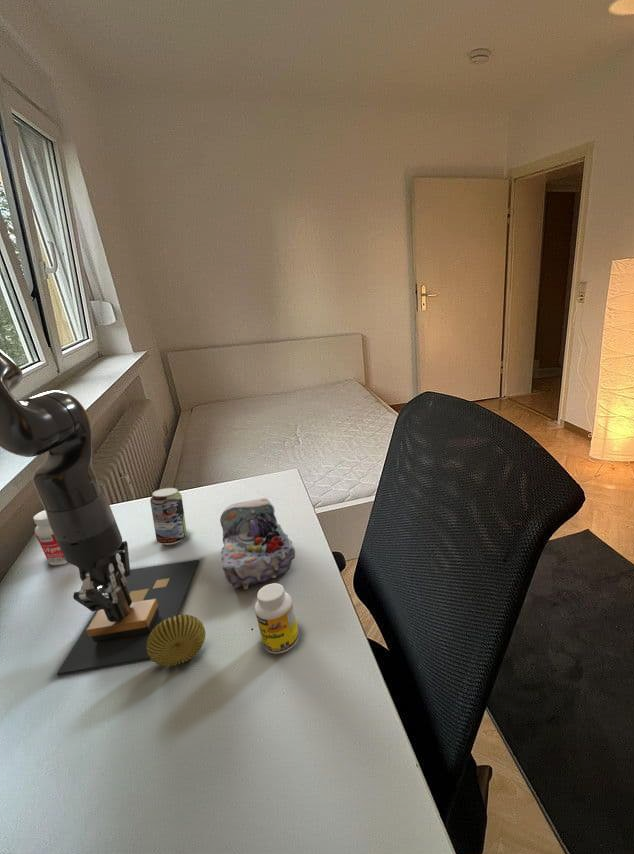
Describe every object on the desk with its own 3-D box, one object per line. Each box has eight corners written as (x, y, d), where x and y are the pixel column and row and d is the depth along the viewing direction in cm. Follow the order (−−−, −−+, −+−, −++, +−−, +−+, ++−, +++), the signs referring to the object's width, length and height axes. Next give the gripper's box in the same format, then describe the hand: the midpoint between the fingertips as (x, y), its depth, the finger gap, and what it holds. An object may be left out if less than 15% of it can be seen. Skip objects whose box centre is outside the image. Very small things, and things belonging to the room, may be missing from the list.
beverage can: (152, 547, 96) (135, 500, 92) (175, 528, 103) (161, 483, 98) (176, 550, 95) (160, 502, 90) (198, 530, 101) (185, 485, 97)
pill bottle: (46, 570, 91) (24, 525, 87) (52, 554, 96) (32, 510, 92) (81, 560, 94) (62, 516, 89) (86, 545, 99) (68, 502, 94)
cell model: (268, 486, 96) (295, 532, 80) (276, 527, 101) (303, 578, 85) (204, 504, 91) (220, 557, 75) (215, 546, 95) (233, 606, 79)
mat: (57, 676, 67) (56, 673, 67) (121, 573, 89) (121, 571, 89) (162, 657, 69) (160, 655, 69) (199, 561, 91) (199, 559, 91)
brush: (92, 643, 72) (74, 606, 68) (105, 620, 76) (89, 584, 73) (151, 633, 73) (136, 596, 70) (161, 611, 77) (147, 575, 74)
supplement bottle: (257, 653, 69) (244, 603, 65) (273, 625, 74) (262, 577, 70) (290, 658, 68) (279, 607, 64) (305, 629, 73) (295, 580, 69)
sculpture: (208, 638, 72) (196, 600, 69) (212, 655, 69) (200, 617, 66) (154, 662, 69) (138, 623, 65) (156, 681, 65) (139, 641, 62)
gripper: (80, 504, 72) (114, 588, 79) (29, 558, 59) (75, 651, 66) (129, 498, 73) (159, 581, 80) (90, 549, 60) (129, 642, 67)
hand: (121, 612), depth 73 cm, fingers closed on brush, 2 cm apart
